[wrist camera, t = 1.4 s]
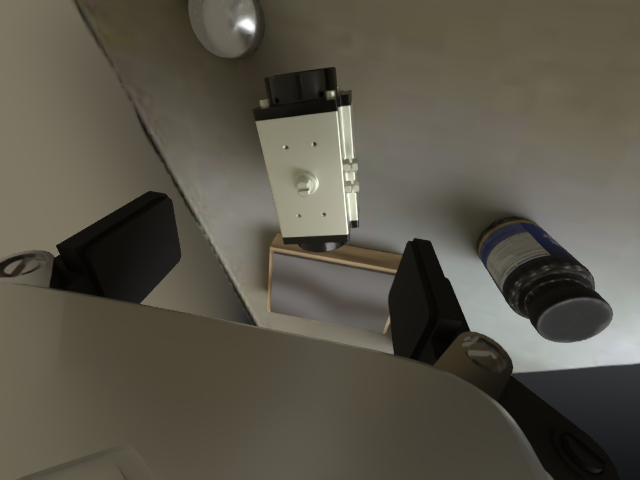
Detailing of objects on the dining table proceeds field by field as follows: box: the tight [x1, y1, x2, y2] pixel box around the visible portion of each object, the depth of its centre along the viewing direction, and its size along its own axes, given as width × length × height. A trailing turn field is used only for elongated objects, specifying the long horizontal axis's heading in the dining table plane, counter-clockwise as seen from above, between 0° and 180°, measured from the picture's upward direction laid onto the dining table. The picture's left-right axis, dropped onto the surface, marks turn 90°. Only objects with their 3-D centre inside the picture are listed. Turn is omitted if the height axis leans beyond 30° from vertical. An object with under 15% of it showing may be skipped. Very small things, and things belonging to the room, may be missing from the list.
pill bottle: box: [477, 218, 613, 343], centre depth 25 cm, size 6×6×11 cm
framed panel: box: [267, 233, 402, 334], centre depth 33 cm, size 10×15×3 cm, turn 82°
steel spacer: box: [188, 0, 265, 59], centre depth 21 cm, size 5×5×2 cm
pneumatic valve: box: [253, 67, 359, 253], centre depth 21 cm, size 6×12×12 cm, turn 7°
